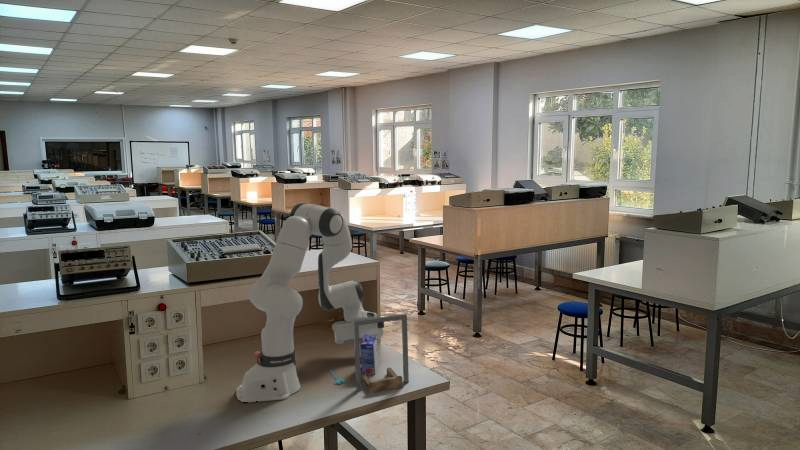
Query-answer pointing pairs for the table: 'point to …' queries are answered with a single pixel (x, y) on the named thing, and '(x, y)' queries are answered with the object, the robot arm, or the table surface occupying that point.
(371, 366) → the ink cartridge box
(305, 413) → the table surface
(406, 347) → the scanner arch
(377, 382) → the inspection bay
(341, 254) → the robot arm
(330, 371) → the adjustable wrench
